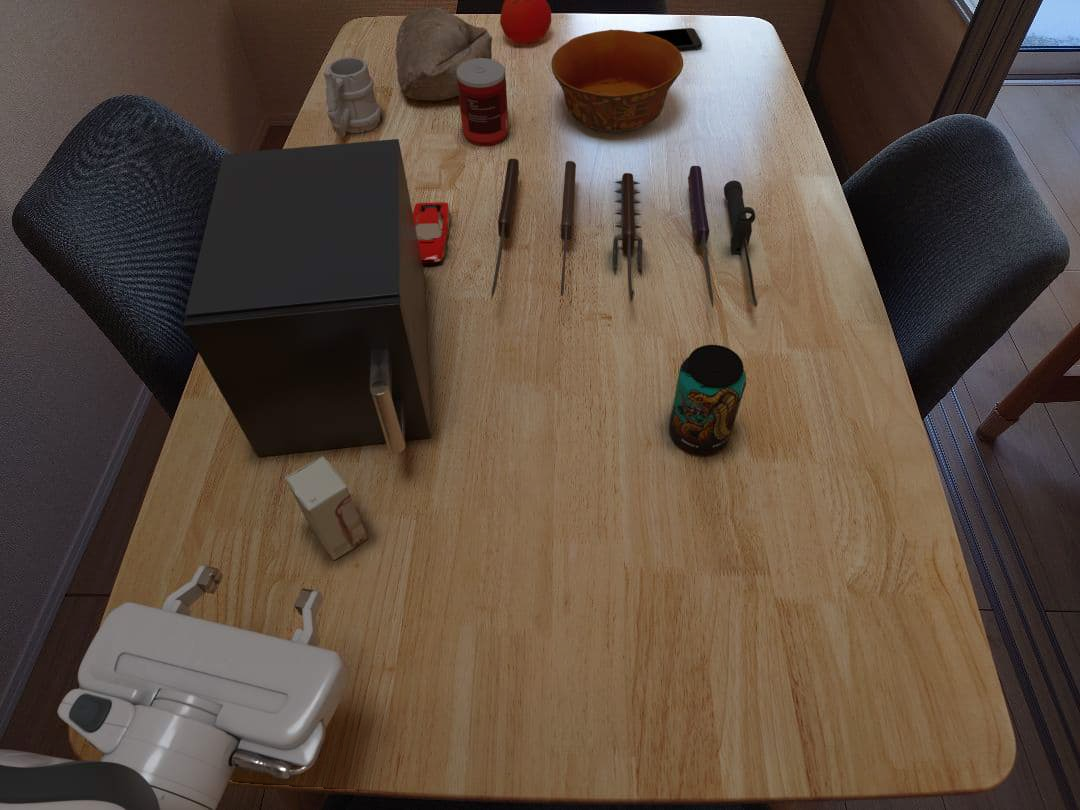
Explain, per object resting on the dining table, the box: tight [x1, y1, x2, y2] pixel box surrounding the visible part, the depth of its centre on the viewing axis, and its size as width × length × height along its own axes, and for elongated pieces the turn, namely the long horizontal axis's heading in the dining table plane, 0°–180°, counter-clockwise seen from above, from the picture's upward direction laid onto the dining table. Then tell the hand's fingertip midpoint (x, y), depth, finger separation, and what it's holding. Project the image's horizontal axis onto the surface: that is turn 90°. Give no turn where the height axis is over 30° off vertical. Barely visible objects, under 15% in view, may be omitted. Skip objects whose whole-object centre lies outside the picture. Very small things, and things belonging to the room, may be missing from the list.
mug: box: [323, 56, 382, 138], centre depth 124 cm, size 8×12×12 cm, turn 163°
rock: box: [395, 6, 493, 102], centre depth 132 cm, size 16×17×15 cm
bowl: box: [550, 29, 684, 132], centre depth 125 cm, size 21×21×10 cm
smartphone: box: [640, 27, 703, 51], centre depth 143 cm, size 7×15×1 cm, turn 97°
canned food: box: [456, 58, 509, 147], centre depth 122 cm, size 8×8×11 cm
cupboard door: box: [183, 297, 432, 458], centre depth 78 cm, size 7×20×22 cm, turn 97°
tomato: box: [499, 0, 552, 44], centre depth 143 cm, size 9×10×8 cm
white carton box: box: [284, 456, 369, 561], centre depth 77 cm, size 5×4×10 cm
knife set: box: [490, 158, 758, 308], centre depth 104 cm, size 35×33×8 cm
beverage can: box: [668, 344, 747, 455], centre depth 83 cm, size 7×7×12 cm
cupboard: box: [184, 138, 432, 431], centre depth 88 cm, size 26×20×22 cm
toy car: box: [412, 201, 451, 266], centre depth 109 cm, size 12×5×3 cm, turn 1°
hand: (262, 580), depth 64 cm, fingers open, 8 cm apart
